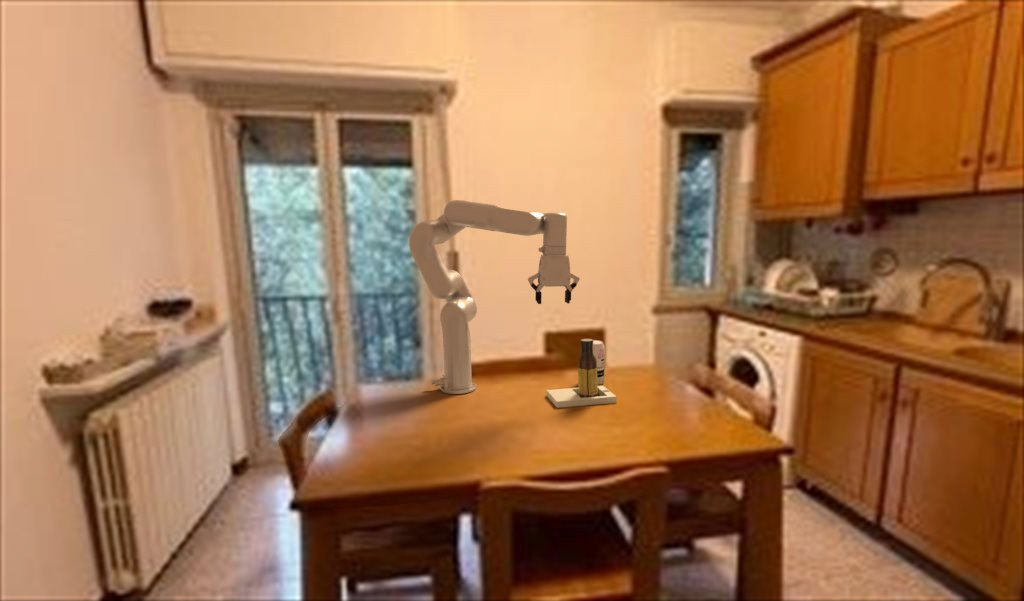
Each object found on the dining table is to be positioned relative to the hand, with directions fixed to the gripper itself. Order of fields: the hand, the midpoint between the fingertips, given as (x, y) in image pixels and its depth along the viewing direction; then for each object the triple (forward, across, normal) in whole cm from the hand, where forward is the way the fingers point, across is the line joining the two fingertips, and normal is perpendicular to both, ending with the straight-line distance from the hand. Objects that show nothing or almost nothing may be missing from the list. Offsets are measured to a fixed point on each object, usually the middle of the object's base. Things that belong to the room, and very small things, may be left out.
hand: (553, 303), depth 186 cm
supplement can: (+31, +18, +9) cm, 37 cm away
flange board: (+31, +8, -7) cm, 33 cm away
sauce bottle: (+31, +11, -7) cm, 34 cm away
